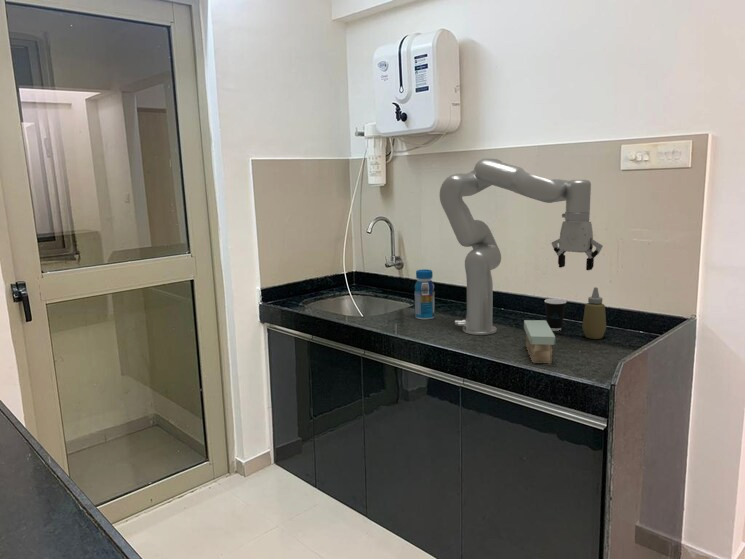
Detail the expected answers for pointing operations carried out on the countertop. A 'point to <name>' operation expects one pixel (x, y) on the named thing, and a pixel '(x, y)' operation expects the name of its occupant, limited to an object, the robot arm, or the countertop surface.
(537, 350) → the box
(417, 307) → the beverage bottle
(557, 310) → the dixie cup
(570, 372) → the countertop surface
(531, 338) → the lid
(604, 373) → the countertop surface
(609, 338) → the countertop surface
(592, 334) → the squeeze bottle
